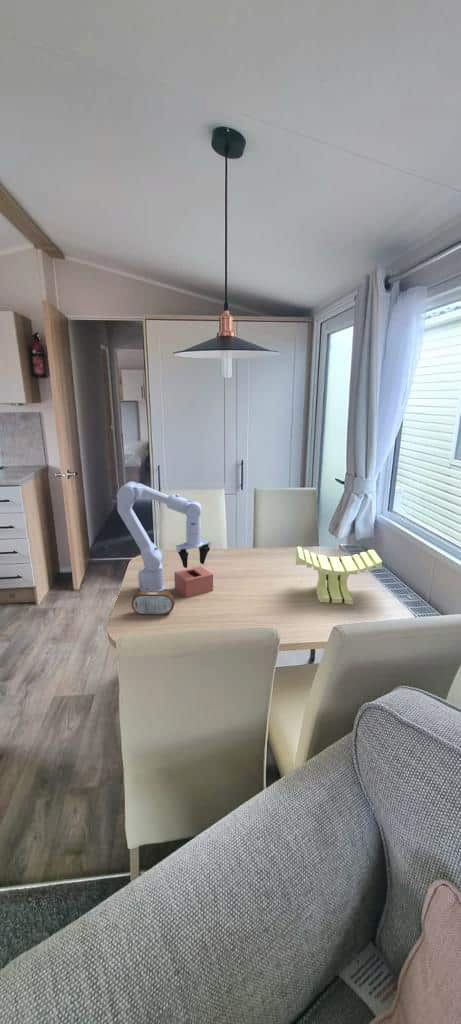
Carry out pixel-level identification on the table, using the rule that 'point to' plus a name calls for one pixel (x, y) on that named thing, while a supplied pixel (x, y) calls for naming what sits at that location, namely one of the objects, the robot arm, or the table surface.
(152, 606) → the tin
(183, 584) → the money box
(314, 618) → the table surface
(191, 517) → the robot arm
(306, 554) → the slatted curved stool
